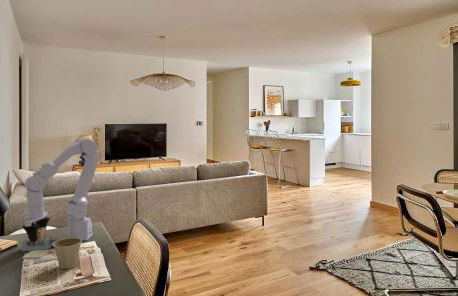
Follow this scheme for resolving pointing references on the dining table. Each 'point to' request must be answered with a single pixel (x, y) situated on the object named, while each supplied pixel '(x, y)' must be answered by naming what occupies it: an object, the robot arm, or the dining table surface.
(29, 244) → the vise
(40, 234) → the collar
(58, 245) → the flower pot
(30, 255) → the mat
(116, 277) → the dining table surface
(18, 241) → the dining table surface
